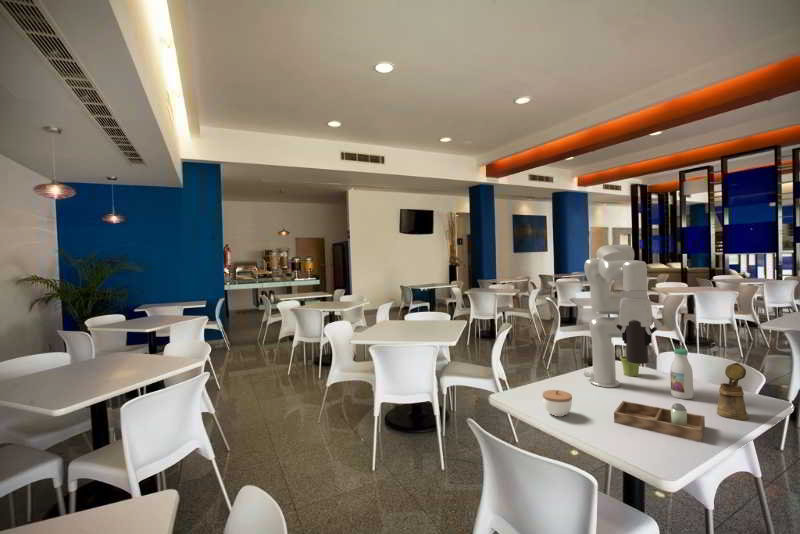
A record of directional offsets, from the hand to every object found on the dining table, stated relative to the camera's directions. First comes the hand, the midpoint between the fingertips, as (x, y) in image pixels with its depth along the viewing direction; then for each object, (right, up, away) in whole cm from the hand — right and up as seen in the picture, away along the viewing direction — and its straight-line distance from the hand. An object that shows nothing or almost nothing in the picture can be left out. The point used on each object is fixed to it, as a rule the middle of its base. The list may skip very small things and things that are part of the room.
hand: (636, 343), depth 141 cm
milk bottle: (+33, -27, +23) cm, 49 cm away
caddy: (+5, -29, -4) cm, 30 cm away
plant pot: (+30, -27, +54) cm, 68 cm away
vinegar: (0, -7, 0) cm, 7 cm away
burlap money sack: (+39, -27, +4) cm, 48 cm away
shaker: (+10, -28, -8) cm, 31 cm away
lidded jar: (-25, -30, +11) cm, 40 cm away
